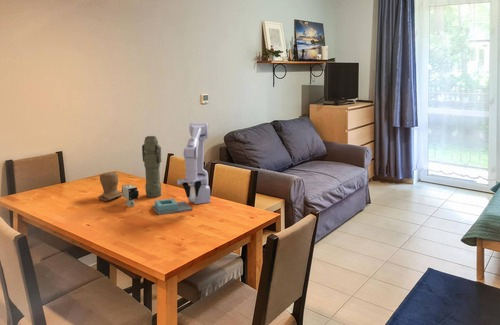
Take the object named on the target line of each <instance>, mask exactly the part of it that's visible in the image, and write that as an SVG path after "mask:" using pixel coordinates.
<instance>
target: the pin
mask: <svg viewBox="0 0 500 325" xmlns="http://www.w3.org/2000/svg"><path fill="white" fill-rule="evenodd" d="M188 185H189V197H187V199H188V200H187V201H188V202H191V203H193V202H194V201H196V185H194V184H190V183H189V184H188Z"/></svg>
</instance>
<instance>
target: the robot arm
mask: <svg viewBox="0 0 500 325" xmlns="http://www.w3.org/2000/svg"><path fill="white" fill-rule="evenodd" d="M209 128H210V127H209V124H208V122H190V123H189V128H188V129H189V133H190V136H191V138H188V141H187V144H186V147H185V148H184V149H183V158H184V162H185V178H183V179H177V180H176V182H177V185H182V187H183V189H184V191H185V195H186V198H188V197H189V185H190V184H194V185H196V201H194V202H192V203H193V204H194V205H198V204H207V203H211V202H212V201H211V188H210V185H209V172H208V171H207V170H206V169H204V160H205V158H204V156H205V155H204V154H205V142H206V140H207V139H208V138H209Z"/></svg>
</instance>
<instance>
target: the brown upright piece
mask: <svg viewBox="0 0 500 325" xmlns="http://www.w3.org/2000/svg"><path fill="white" fill-rule="evenodd" d="M99 182H100V185H101V187H102V189H103V193H102V194H100V195H99V196H97V197H98V199H99V200H101V201H103V202H107V201H111V200H113V199H115V198H116V199H117V197H118V198H119V197H121V196H123V194H122V191H119V190H118V185H119V177H118V173H117V172H116V171H110V172H103V173H100V174H99Z"/></svg>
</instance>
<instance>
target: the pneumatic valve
mask: <svg viewBox="0 0 500 325" xmlns="http://www.w3.org/2000/svg"><path fill="white" fill-rule="evenodd" d="M121 192H122V194H123V195H122V197H123V198H125V199H126V200H125V202H126V206H127V208H128V207H129V208H130V207H135V206H136V203H135V200H138V199H139V190H138V187H137V186H136V185H132V184H130V183H129V184H123V185H121Z"/></svg>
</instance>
